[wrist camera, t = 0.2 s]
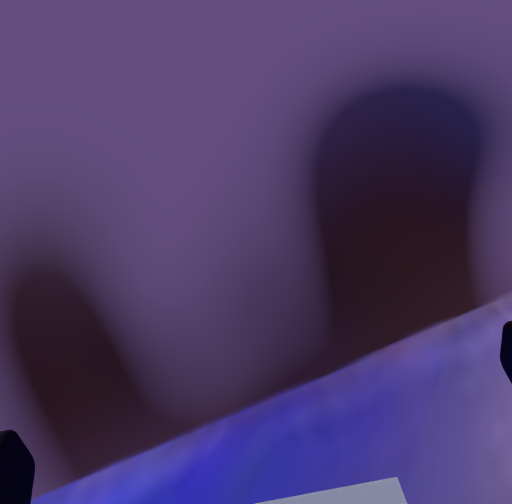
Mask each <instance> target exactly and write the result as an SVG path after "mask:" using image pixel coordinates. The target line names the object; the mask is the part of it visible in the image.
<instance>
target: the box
mask: <svg viewBox="0 0 512 504" xmlns="http://www.w3.org/2000/svg"><path fill="white" fill-rule="evenodd" d="M256 504H407V502H406V500H405V497H404V494H403V492H402V489H401V486H400V484H399V481H398V478H397V477H394V478H388V479H383V480H378V481H373V482H367V483H362V484H357V485H351V486H346V487H341V488H335V489H330V490H325V491H320V492H314V493H309V494H304V495H298V496H293V497H288V498H283V499H277V500H272V501H267V502H261V503H256Z"/></svg>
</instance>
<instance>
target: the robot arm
mask: <svg viewBox="0 0 512 504" xmlns="http://www.w3.org/2000/svg"><path fill="white" fill-rule="evenodd" d="M500 360H501V364H502V366H503V369H504V371H505V372H506V374H507V376H508V378H509V380H510V381H511V383H512V321H508V322H507V323H505V325H504V326H503V332H502V341H501V350H500ZM34 474H35V463H34V459H33V457H32V455H31V453H30V452H29V450H28V449H27V447H26V446H25V444H24V443H23V442H22V440H21V439H20V437H19V435H18V434H17V433H16V432H15V431H13V430H5V431H1V432H0V504H30V503H31V496H32V488H33V481H34Z"/></svg>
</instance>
